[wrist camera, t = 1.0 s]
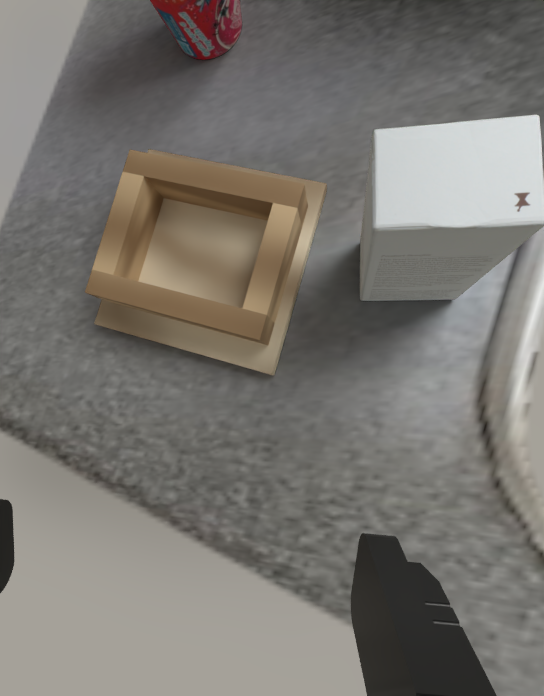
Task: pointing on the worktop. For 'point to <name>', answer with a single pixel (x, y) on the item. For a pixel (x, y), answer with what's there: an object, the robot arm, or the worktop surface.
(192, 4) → the cup
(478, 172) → the skincare box
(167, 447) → the worktop surface
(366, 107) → the worktop surface
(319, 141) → the worktop surface
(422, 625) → the robot arm
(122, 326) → the socket holder
